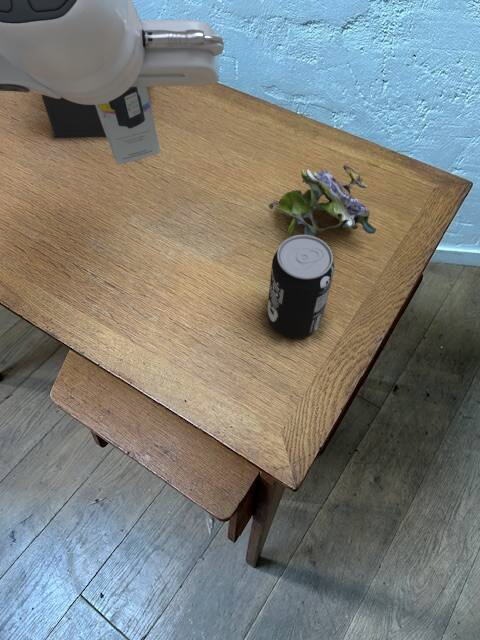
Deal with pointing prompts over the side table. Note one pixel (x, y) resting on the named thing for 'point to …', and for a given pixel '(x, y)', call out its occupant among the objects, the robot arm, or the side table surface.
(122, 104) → the ink box
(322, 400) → the side table surface
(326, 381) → the side table surface
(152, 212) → the side table surface
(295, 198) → the passion flower
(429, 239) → the side table surface
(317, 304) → the beverage can
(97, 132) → the open storage bin
